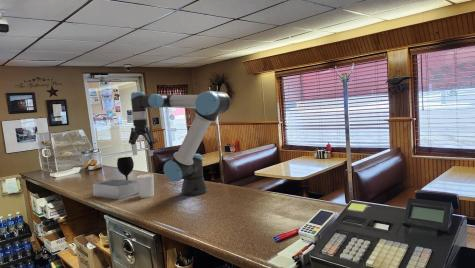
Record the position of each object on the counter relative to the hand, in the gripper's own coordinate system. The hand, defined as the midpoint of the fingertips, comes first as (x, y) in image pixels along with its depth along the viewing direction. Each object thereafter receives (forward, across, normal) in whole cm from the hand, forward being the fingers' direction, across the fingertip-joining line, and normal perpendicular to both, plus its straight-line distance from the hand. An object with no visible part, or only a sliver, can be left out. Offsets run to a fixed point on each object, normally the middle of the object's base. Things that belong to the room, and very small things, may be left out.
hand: (142, 155), depth 190 cm
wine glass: (+24, +31, -11) cm, 41 cm away
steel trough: (+24, +21, +5) cm, 32 cm away
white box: (+24, 0, 0) cm, 24 cm away
